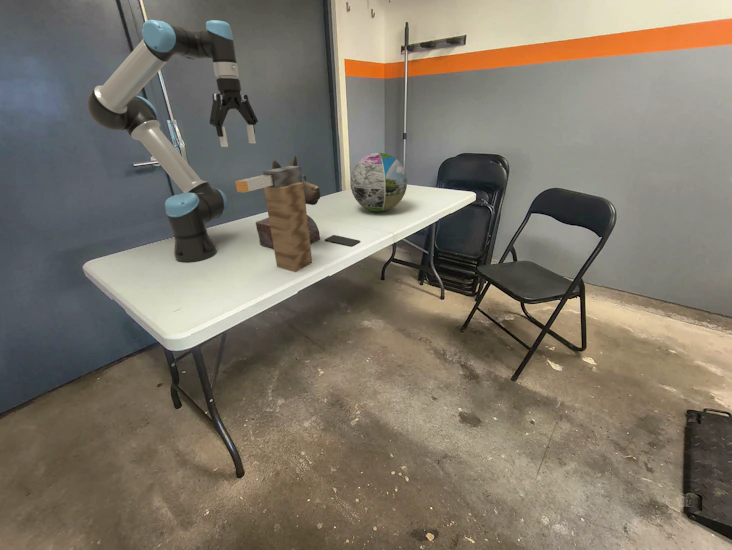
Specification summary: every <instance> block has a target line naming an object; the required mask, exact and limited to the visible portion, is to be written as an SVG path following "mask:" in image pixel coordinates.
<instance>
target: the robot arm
mask: <svg viewBox="0 0 732 550" xmlns="http://www.w3.org/2000/svg"><path fill="white" fill-rule="evenodd" d="M141 35H142V40H141V41H140V42H139V43H138V44H137V45H136V46H135V48H134V49H133V50H132V51H131V52H130V53H129V55H128V56H127V57H126V58H125V59H124V60H123V62H122V63H121V64H120V65H119V66H118V67H117V69H116V70H114V72H113V73H112V74H111V75H110V77H109V78H108V79H107V80H106V81H105V82H104V84H103V85H96V86H95V87H94V88H93V90H91V92H90V94H89V95H88V98H87V102H86V107H87V111H88V114H89V115H90V117H91V118H92V120H93V121H94V122H95V123H96V124H97V125H99V126H101V127H102V128H104V129H107V130H110V131H126V133H127V134H128V135H129V136H130V138H131V139H133V140H136V141H139V142H141V144H142V146H144V147H145V149H146V150H147V151H148V152H149V154H151V155H152V157H153V158H154V160H155V161H156V162H157V163H158V164H159V165H160V166H161V167H162V169H163V170H164V171H165V172H166V174H167V175H168V176H169V177H170V178H171V179H172V181H173V182H174V183H175V184H176V186H178V187H179V189H180V190H181V191H182V192H183V193H179V194H175V195H171V196H170V197H168V198H167V199H166V200H165V202H164V208H165V213H166V216H167V218H168V219H167V220H168V222H169V225H170V229H171V231H172V234H173V238H174V248H173V249H174V251H173V254H174V258H175V260H176V261H178V262H179V263H180V262H182V263H193V262H199V261H203V260H206V259H207V260H208V259H209V258H211V257H214V256H215V255H216V254H217V252H218V249H217V246H216V244H215V242H214V241H213V240H212V238H211V236H210V235H209V233H208V230H207V226H206V224H207V223H209V222H211V221H214V220H216V219H219V218H220V217H221V216H223V215H224V214H226V213H227V210H228V205H229V202H228V198H227V196H226V194H225V192H224V191H222V190H221V189H220V188H216V187H213V186H212V185H211V184H210V183H209V182H208V181H207V180H202V179H201V178H200V177H199V175H198V174H197V173H196V172H195V171H194V169H193V168H192V167H191V166H190V163H188V162H187V161H186V159H184V157H183V156H182V155H181V153H180V152H179V150H177V149H176V147H175V146H174V145H173V143H172V142H171V141H170V140H169V139H168V138H167V136H166V135H165V134H164V133H163V131H162V130H161V129H160V127H161V124H160V122H159V115H158V112H157V110H156V108H155V106H154V105H153V103H151V102H150V101H149V100H148V99H146V98H144V97H143V96H140V95H138V94H139V93H140V92H141V90H143V88H144V87H145V86H146V85H147V84H149V82H150V81H151V80H152V79H153V78H154V77H155V75H156V74H157V73H158V72H160V70H161V69H162V68H163V67H164V66H165V65H166V64H167V62H169V61H170V60H171V58H173V56H175V55H178V56H180V57H181V58H182V59H185V60H197V59H212V64H213V70H214V76H215V77H216V78H217V79H216V80H215V81H216V87H217V91H219V93H212V105H211V110H210V116H209V117H210V118H209V124H210V125H212V126H213V127H215V129H216V134H217V137H218V138H219V142H220V146H221V148H224V147H225V148H228V147H229V144H228V143H229V142H228V137H227V131H226V127H225V126H223V124H224V122H225V120H226V117H227V115H228V112H229V111H230V110H236V111H238V113H240V115H241V117H242V118H243V119H244V121H245V122H246V126H245V127H246V132H247V137H248V144H256V143H257V141H256V137H255V134H256V130H255V125H257V123H258V121H259V120H258V118H257V116H256V114H255V112H254V110H253V108H252V106H251V103H250V101H249V96H248V94H241V91H242V86H241V81H240V79H239V77H240V75H239V69H238V63H237V58H236V57H237V56H236V51H235V50H236V49H235V43H234V41H235V39H234V36H233V32H232V27H231V25H230V24H229V23H228V22H226V21H223V20H218V19H217V20H216V19H214V20H213V19H212V20H207V21H206V22H205V30H191V29H187V28H183V27H180V26H176V25H174V24H170V23H167V22H165V21H162V20H156V19H148V20H146V21H144V23H143V25H142V30H141Z"/></svg>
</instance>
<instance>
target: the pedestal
mask: <svg viewBox="0 0 732 550" xmlns="http://www.w3.org/2000/svg"><path fill="white" fill-rule="evenodd" d="M262 172H263V173H262V175H265V174H273V177H274V184H275V185H272V186H268V187H265V188H263V190H264V196H265V203H266V209H267V215H268V216H267V217H268V218H269V222H270V228H271V234H272V240H273V246H274V248H273V251H274V256H275V262H276V267H277V268H280V269H283V270H286V271H287V270H288V271H290V272H295V273H297V272H298V271H300V270H302V269H304V268H305V267H307V266H309V265H311V264H313V257H312V249H311V244H310V238H309V229H308V220H307V215H308V213H307V204H306V203H305V194H304V185H303V183H300V182H302V174H303V173H302V166H299V165H297V166H289V165H288V166H283V167H282V166H281V168H277V169H273V168H272V169H267V170H262Z"/></svg>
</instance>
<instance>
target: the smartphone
mask: <svg viewBox="0 0 732 550" xmlns="http://www.w3.org/2000/svg"><path fill="white" fill-rule="evenodd" d="M323 241H324V242H326V243H329V244H330V243H331V244H335V245H340V246H346V247H350V248H351V247H355V246H356V245H358V244H360V243H361V240H359V239H355V238H354V239H353V238H350V237H345V236H340V235H335V234H332V235H331V236H328V237H326V238H324V240H323Z"/></svg>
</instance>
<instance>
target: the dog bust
mask: <svg viewBox="0 0 732 550" xmlns="http://www.w3.org/2000/svg"><path fill="white" fill-rule="evenodd" d="M271 165H272V166H271V167H272V169H277V168H281V167H282V166H281V165H280V163H279V162H278V161H277V160H276V159H273V160H272V163H271ZM288 166H298V159H297V156H296V155H294V156H293V157H292V158H291V160H290V162H289V164H288ZM300 183H303V185H304V194H305V203H306V205H310V206H315V205H317V203H318V202H319V200H320V199H321V191H320V187H319V186H317V185H316V184H314V183H311V182H309V181H307V176H306V175H305V174H303V173H302V182H300ZM307 220H308V229H309V238H310V245H311V244H313V243H315V242H316V241H319V240H320V239H321V233H320V230H319V227H318V225H317V223H316V221H315V220H314V219H313V218H312V217H311V216H309V214H307ZM255 226H256V232H257V234H258V239H259V245H260V246H264V247H267V248H272V249H274V246H273V240H272V234H271V228H270V222H269V217H267V218H264V219H261V220H257V221H256V222H255Z"/></svg>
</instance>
